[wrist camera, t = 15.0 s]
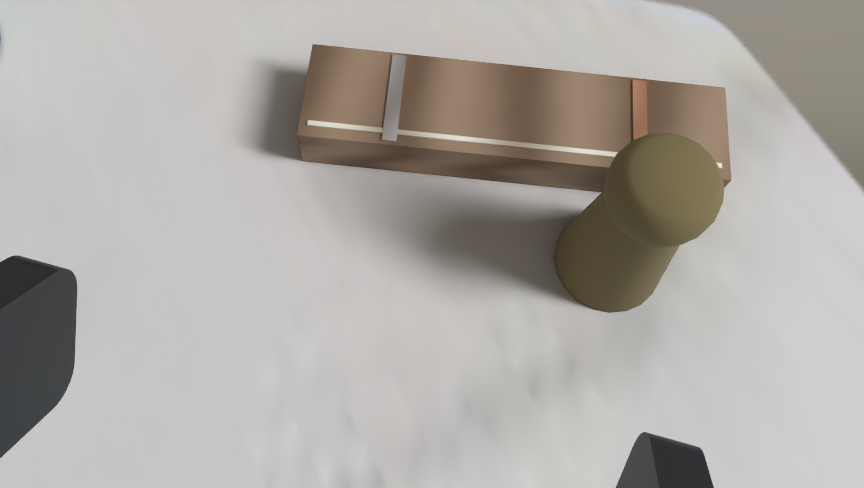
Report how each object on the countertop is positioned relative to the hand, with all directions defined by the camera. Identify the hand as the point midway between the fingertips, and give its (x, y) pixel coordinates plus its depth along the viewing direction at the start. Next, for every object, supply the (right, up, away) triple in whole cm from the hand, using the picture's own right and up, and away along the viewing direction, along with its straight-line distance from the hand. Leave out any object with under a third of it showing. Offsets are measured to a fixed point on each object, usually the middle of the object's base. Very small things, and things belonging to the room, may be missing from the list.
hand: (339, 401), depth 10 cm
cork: (+11, +1, +32) cm, 34 cm away
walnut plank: (+6, +9, +35) cm, 36 cm away
